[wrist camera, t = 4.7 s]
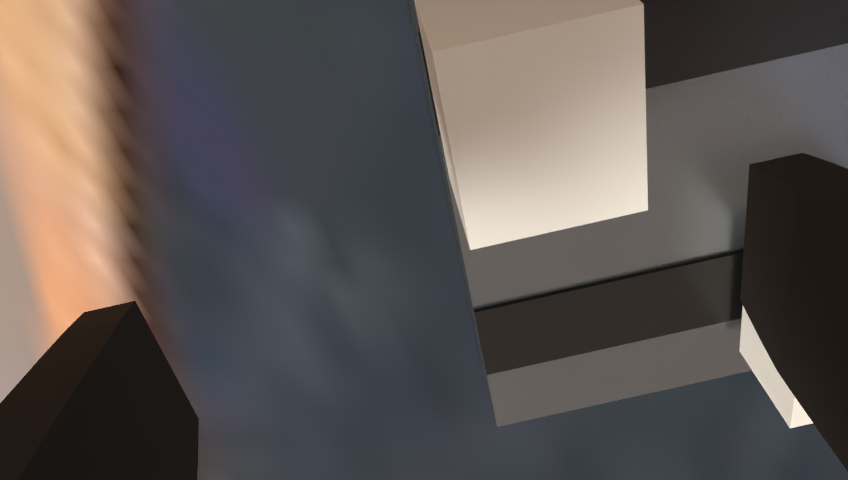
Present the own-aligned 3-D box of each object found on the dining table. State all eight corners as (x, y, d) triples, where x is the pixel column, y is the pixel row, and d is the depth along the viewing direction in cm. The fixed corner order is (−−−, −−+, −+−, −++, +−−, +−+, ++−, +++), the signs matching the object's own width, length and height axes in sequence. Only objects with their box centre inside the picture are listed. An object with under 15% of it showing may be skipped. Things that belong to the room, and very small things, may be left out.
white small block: (887, 202, 16) (964, 270, 14) (862, 323, 18) (928, 397, 16) (747, 233, 16) (806, 306, 14) (739, 350, 18) (790, 428, 16)
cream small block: (592, -43, 13) (643, 4, 11) (603, 142, 15) (648, 210, 13) (413, -2, 13) (432, 51, 11) (449, 177, 15) (470, 250, 13)
